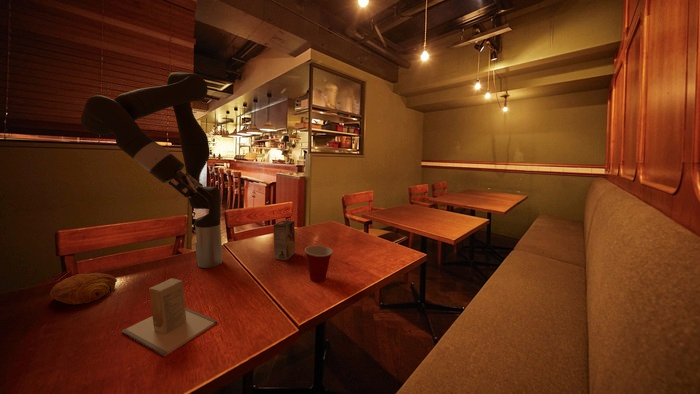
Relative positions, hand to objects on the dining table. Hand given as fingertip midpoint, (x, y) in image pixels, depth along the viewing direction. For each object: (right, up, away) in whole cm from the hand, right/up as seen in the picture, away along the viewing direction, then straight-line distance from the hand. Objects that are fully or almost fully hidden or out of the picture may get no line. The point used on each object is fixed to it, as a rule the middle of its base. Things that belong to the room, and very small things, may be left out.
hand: (208, 201), depth 78 cm
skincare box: (-6, -34, -8) cm, 35 cm away
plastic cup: (+30, -31, +22) cm, 49 cm away
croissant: (-44, -31, +7) cm, 54 cm away
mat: (-6, -34, -8) cm, 35 cm away
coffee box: (+12, -27, +44) cm, 53 cm away
